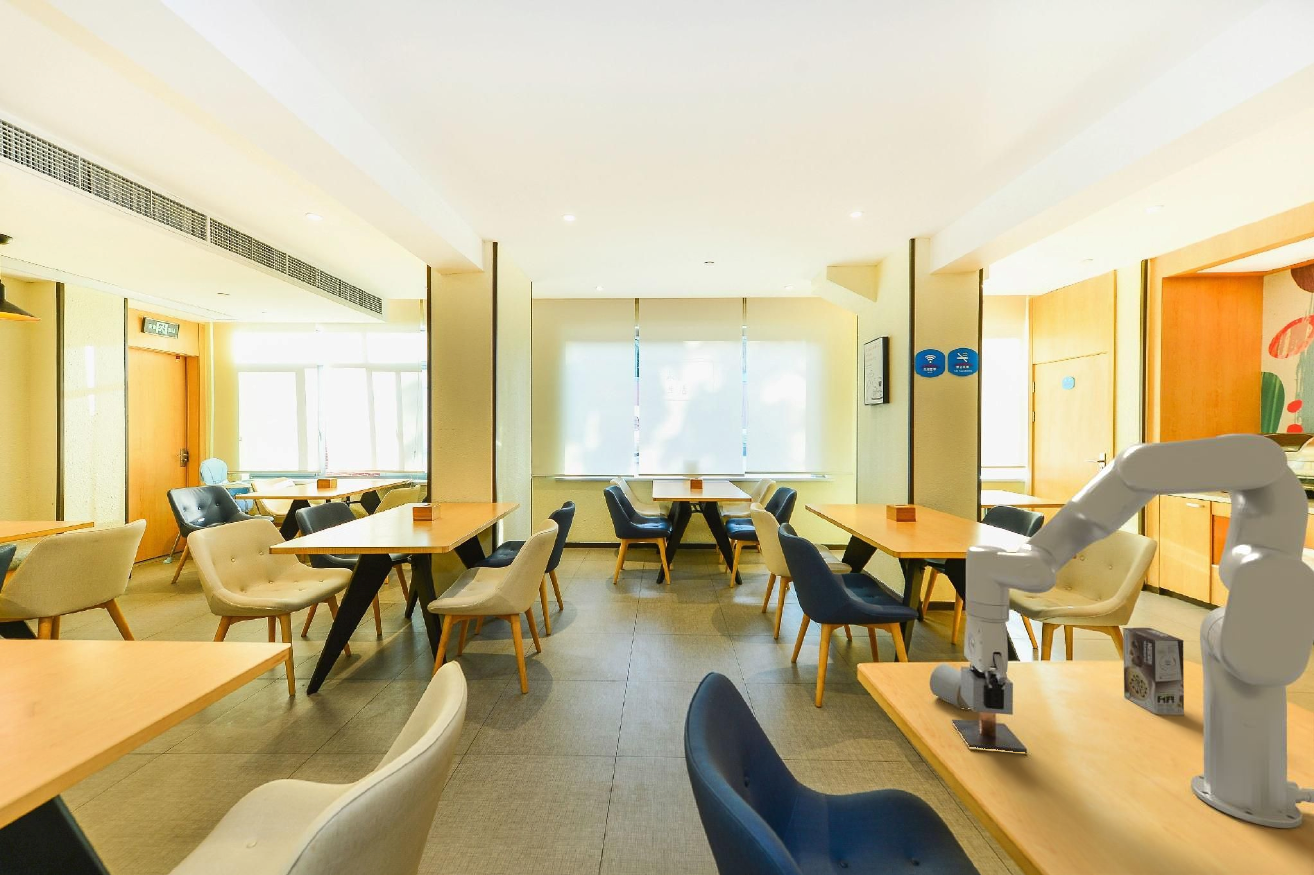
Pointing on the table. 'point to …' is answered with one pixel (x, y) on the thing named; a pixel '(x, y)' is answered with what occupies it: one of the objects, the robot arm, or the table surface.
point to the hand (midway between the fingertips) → (986, 698)
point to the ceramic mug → (947, 685)
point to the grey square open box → (982, 691)
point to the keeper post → (989, 734)
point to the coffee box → (1154, 670)
